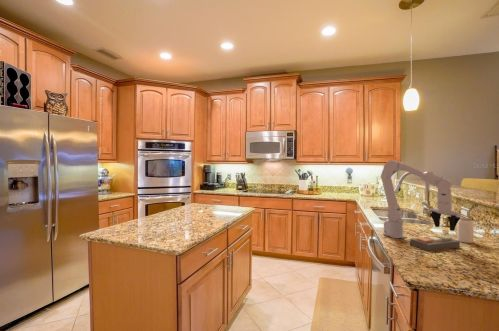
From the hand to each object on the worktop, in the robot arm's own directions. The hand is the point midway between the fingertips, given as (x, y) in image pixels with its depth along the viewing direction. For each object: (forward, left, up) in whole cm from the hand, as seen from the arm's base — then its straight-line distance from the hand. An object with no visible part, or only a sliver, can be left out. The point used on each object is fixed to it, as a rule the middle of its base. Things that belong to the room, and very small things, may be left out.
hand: (444, 228), depth 126 cm
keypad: (0, -7, -8) cm, 11 cm away
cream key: (0, -7, -6) cm, 9 cm away
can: (-1, +16, -9) cm, 18 cm away
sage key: (0, 0, -6) cm, 6 cm away
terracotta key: (0, -13, -6) cm, 15 cm away
